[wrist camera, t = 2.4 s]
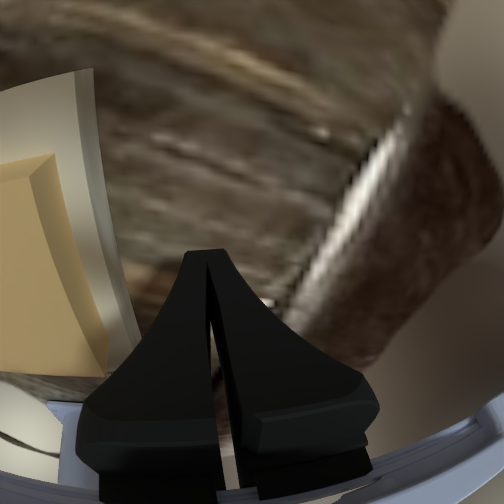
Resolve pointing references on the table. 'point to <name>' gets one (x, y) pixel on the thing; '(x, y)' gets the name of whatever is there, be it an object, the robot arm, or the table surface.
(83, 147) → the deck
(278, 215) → the table surface
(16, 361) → the tan rectangular block
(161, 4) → the table surface
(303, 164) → the table surface
